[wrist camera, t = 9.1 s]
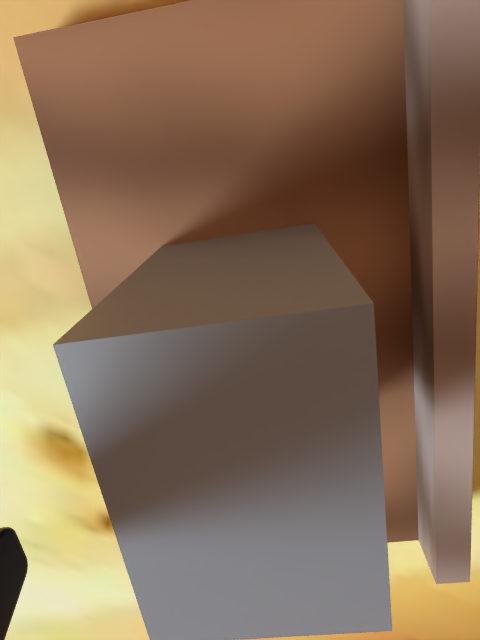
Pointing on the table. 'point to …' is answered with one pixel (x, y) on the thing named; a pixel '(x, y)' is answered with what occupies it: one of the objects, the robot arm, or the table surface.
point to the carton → (239, 437)
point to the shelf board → (298, 185)
